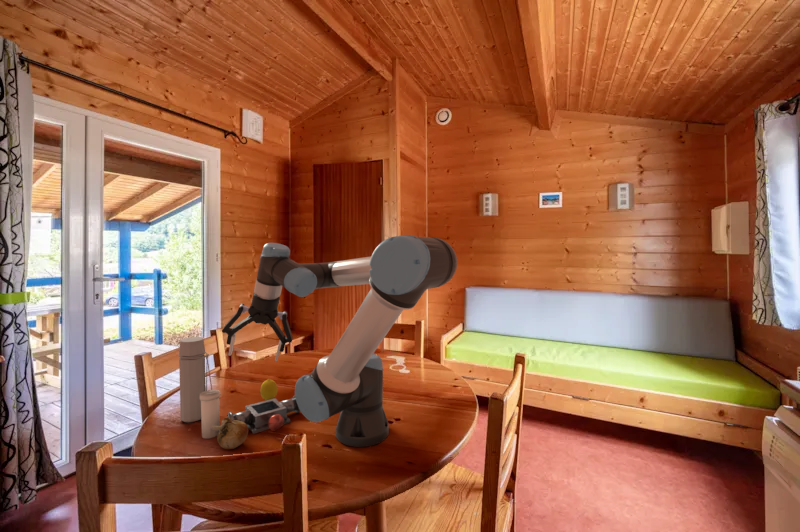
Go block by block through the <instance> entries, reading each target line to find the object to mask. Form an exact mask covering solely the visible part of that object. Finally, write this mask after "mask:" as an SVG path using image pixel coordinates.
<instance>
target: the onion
mask: <svg viewBox="0 0 800 532" xmlns="http://www.w3.org/2000/svg"><path fill="white" fill-rule="evenodd" d="M212 429H213V430H217V431H219V433H218V435H217V436H216V437H217V443H218V446H220V447H221V448H222V449H224V450H233V449H236V448H238V447H239V446H241V445H243V443H244V442H245V441H246V440H247V437H248V434H249V428H248V426H247V425H246V423H244V422H242V421H238V420H234V421H232V420H230V418H227V417H224V418H223V419H222V420H221V424H220V426H212Z"/></svg>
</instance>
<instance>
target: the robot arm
mask: <svg viewBox="0 0 800 532" xmlns="http://www.w3.org/2000/svg"><path fill="white" fill-rule="evenodd" d="M290 255H291V249H290V248H289V246H287V245H284V244H283V243H282V244H281V243H280V242H279V243H278V242H268V243H265V244H264V245H263V248H262V251H261V254H260V259H259V263H258V268H257V275H256V278H255V283H254V289H253V294H252V298H251V303H250V306H246V305H245V304H244V303H240V305H239V307H238V309H237V311H236V312H235V313H234V314H233V315H232V317H231V318H230V319H229V320H228V321H227V322H226V324H225V325H224V326H223V328H222V330H221V332H222V334H227V339H226V345H229V349H228V353H227V356H230V357H231V356H232V354H233V351H234V346H235V342H236V341H235V340H236V336H237V332H239V331H240V330H241V329H243V328H245V327H246V326H247V325H249V324H252V323H255V324H262V325H269V327H270V328H271V329H272V330H273V332H274V333H275V335H276V336H277V338H278V345H277V350H276V355H275V358H274V362H275V363H278V360H279V356H280V353H283V352H284V351H285V347H286V344H287V343H289V344H291V343H292V342H293V333H292V330H291V328H290V327H291V326H290V324H289V321H288V318H287V317H288V311H287V310H284V311H283V312H282V311H279V310H278V307H279V304H280V299H281V298H280V296H281V294H282V290H283V288H285V289H286V290H287V291H288V292H289V293H292V294H293V295H295V296H297V297H300V298H302V297H303V298H304V297H307V296H309V295H310V294H313V292H314V291H315V290H318V289H326V288H338V287H346V286H347V287H349V286H360V285H369V286H370V290H369V291H368V293H367V294H366V295H365V298H364V299H363V301H362V303H361V305H359V308H357V311H356V313H355V314H354V316H353V317H352V319H351V321H350V322H349V323H348V325H347V327H346V329H345V330H344V332H343V333H342V335H341V337H340V339H339V340H338V341H337V344H336V345H335V346H334V347H333V349H332V351H331V352H330V354H328V355H325V356H323V357H321V358H320V359H319V361H318V362H317V364H316V365H315V367H314V368H313V370H312V371H311V372H310V373H308V374H304V375H302V376H300V377H299V378H298V379H297V381H296V382H295V386H294V395H295V397H296V402H297V405H298V407H299V409H300V411H301V412H300V413H301V414H302V415H303V416H304V417H305V418H306V419H307V420H308V421H309V422H313V423H319V422H322V421H325V420H328V419H330V418H331V417H333V416H335V415H336V414H339V413H340V414H339V416H338V420H337V423H336V426H335V437H336V439H337V440H338V441H339V442H340V443H342V444H343V445H346V446H349V447H354V448H355V447H357V448H358V447H359V448H360V447H361V448H363V447H370V446H374V445H377V444H380V443H382V442H384V440H386V439H387V438H388V436H389V434H390V433H389V429H390V428H389V422H388V418H387V416H386V413H385V409H384V405H383V404H384V403H383V402H384V400H383V399H384V398H383V397H384V396H383V394H384V393H383V392H384V390H383V389H384V388H383V387H384V386H383V385H384V367H383V366H384V365H383V358H381V357H380V355H378V354H375V353H376V351H377V350H378V347H379V346H380V345H381V343H382V341H383V340H384V339H385V337H386V336H387V334H388V333H389V331H390V330H391V329H392V327H393V326H394V324H395V323H396V321H397V320H398V319H399V317H400V315H401V314H402V313H403V311H404V310H406V311H407V310H410V309H411V310H412V309H413V308H414V307H415V306H416V305H417V303H418V302H419V301H420V299H421V298H422V296H423V295H424V293H425V292H426V291H427V290H430V289H436V288H440V287H442V286H444V285H445V284H447V283H449V282H450V281H451V280H452V279H453V277H454V276H455V274H456V271H457V268H458V257H457V254H456V250H454V248H453V247H452V245H451V244H450V243H448V242H447V241H446V240H444V239H442V238H439V237H433V236H431V237H429V236H414V235H411V234H402V235H396V236H395V235H394V236H391V237H388V238H386V239H384V240H382V241H381V242H380V243H379V244H378V245H377V246H376V247H375V249H374V250H373V252H372V254H371V256H366V257H359V258H357V257H356V258H351V259H345V260H336V261H329V262H316V263H315V262H313V263H311V262H309V263H308V262H307V263H299V262H296V261H295V260H293V259H291V258H290ZM246 312H248V316H247V317H246V318H244V319H243V320H241V321H240V322H238V323H237V324H235V325H234V323H236V321H237V320H238V319H239V318H240V317H241V315H242V314H245V313H246ZM277 317H279V320H281V323H282V326H283V329H284V331H283V330H282V329H281V327H280V326H279V324H278V323H277V320H276V318H277ZM233 325H234V326H233ZM232 326H233V327H232Z"/></svg>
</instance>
